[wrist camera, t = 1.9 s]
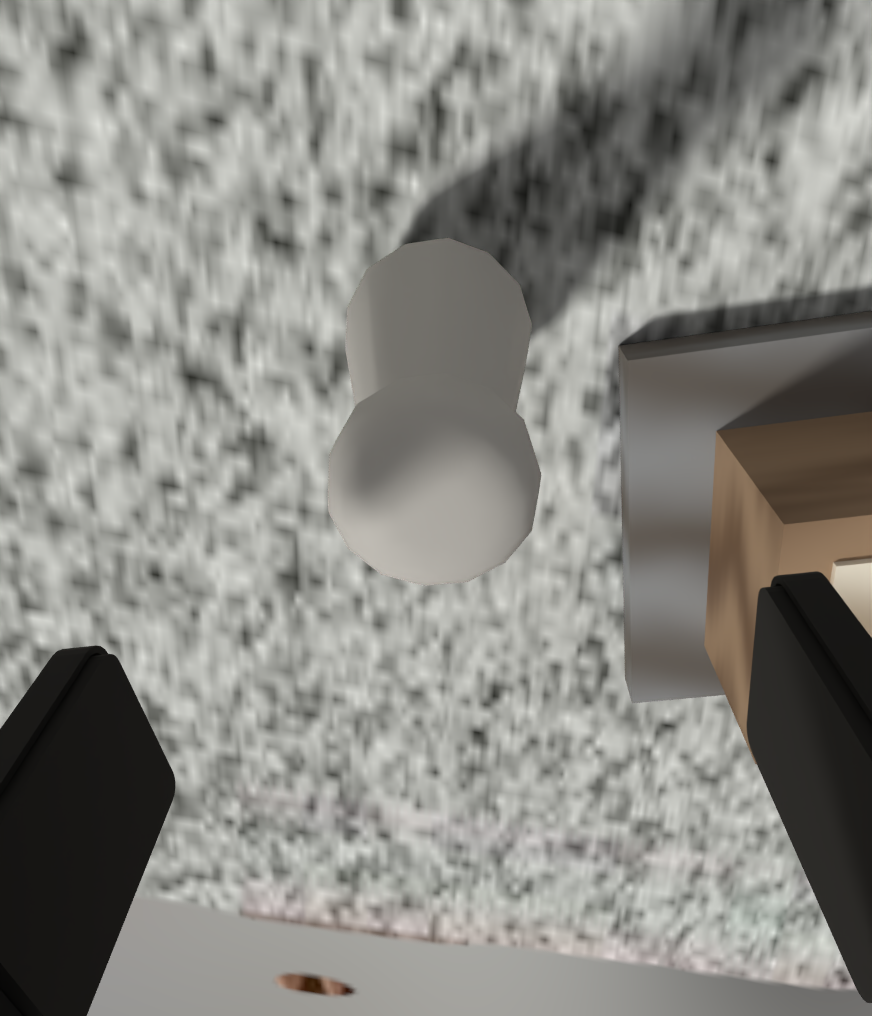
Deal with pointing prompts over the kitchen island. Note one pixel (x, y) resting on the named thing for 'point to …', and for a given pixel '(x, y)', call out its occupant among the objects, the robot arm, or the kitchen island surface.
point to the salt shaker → (435, 417)
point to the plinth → (682, 467)
